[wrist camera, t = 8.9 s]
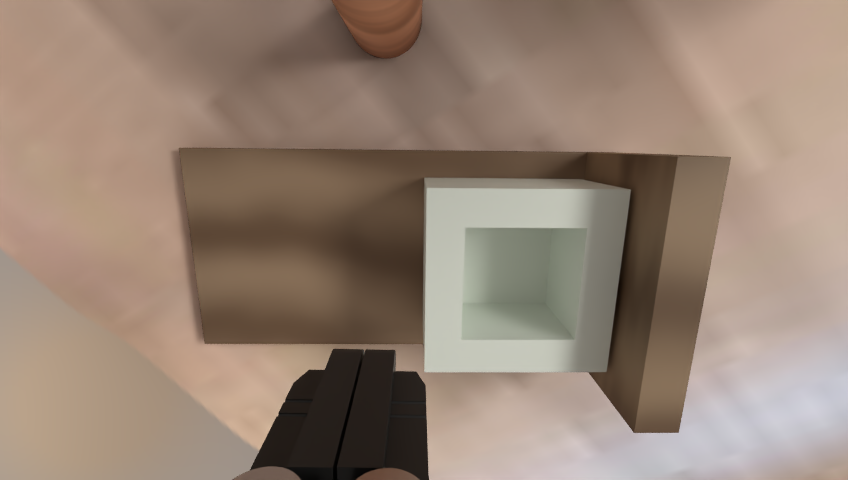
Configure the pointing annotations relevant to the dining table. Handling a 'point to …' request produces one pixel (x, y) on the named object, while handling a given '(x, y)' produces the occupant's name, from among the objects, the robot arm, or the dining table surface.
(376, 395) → the robot arm
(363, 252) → the walnut angle bracket
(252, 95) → the dining table surface
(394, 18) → the dowel
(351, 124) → the dining table surface
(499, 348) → the hole block
